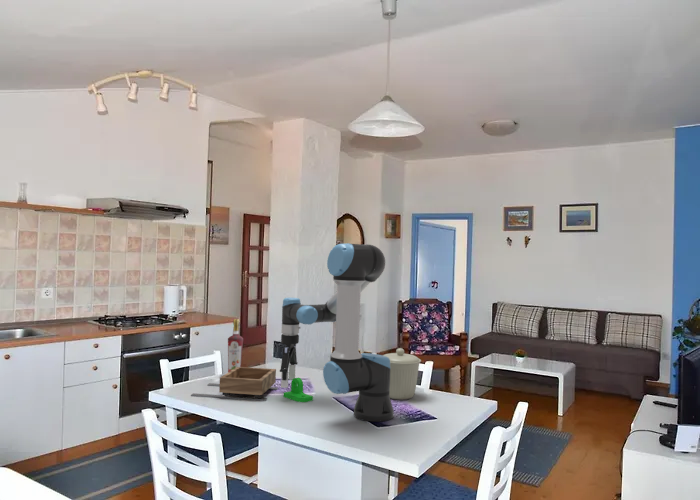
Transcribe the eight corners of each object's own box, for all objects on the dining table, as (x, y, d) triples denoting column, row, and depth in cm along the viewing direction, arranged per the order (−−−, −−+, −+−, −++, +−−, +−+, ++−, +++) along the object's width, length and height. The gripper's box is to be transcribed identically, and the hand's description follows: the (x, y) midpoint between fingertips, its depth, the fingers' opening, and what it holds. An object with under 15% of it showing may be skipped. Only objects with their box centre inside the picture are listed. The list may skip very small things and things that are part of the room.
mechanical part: (283, 397, 220) (284, 378, 220) (294, 395, 225) (295, 376, 225) (301, 403, 212) (302, 383, 212) (312, 401, 216) (313, 381, 216)
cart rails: (265, 400, 213) (265, 399, 213) (190, 396, 217) (190, 394, 217) (278, 388, 233) (278, 387, 233) (209, 384, 237) (209, 383, 237)
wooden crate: (261, 399, 213) (262, 380, 213) (219, 396, 215) (219, 377, 215) (275, 386, 234) (275, 369, 235) (236, 383, 236) (237, 366, 237)
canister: (384, 389, 238) (385, 343, 238) (423, 394, 232) (425, 347, 232) (372, 399, 221) (374, 349, 221) (414, 404, 215) (416, 353, 215)
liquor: (242, 375, 256) (244, 318, 256) (240, 379, 249) (242, 320, 249) (227, 375, 255) (229, 318, 256) (225, 379, 248) (227, 320, 248)
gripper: (292, 339, 210) (290, 391, 210) (304, 330, 235) (302, 377, 235) (274, 338, 211) (272, 390, 211) (288, 329, 236) (286, 376, 236)
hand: (288, 383), depth 223 cm, fingers open, 13 cm apart
